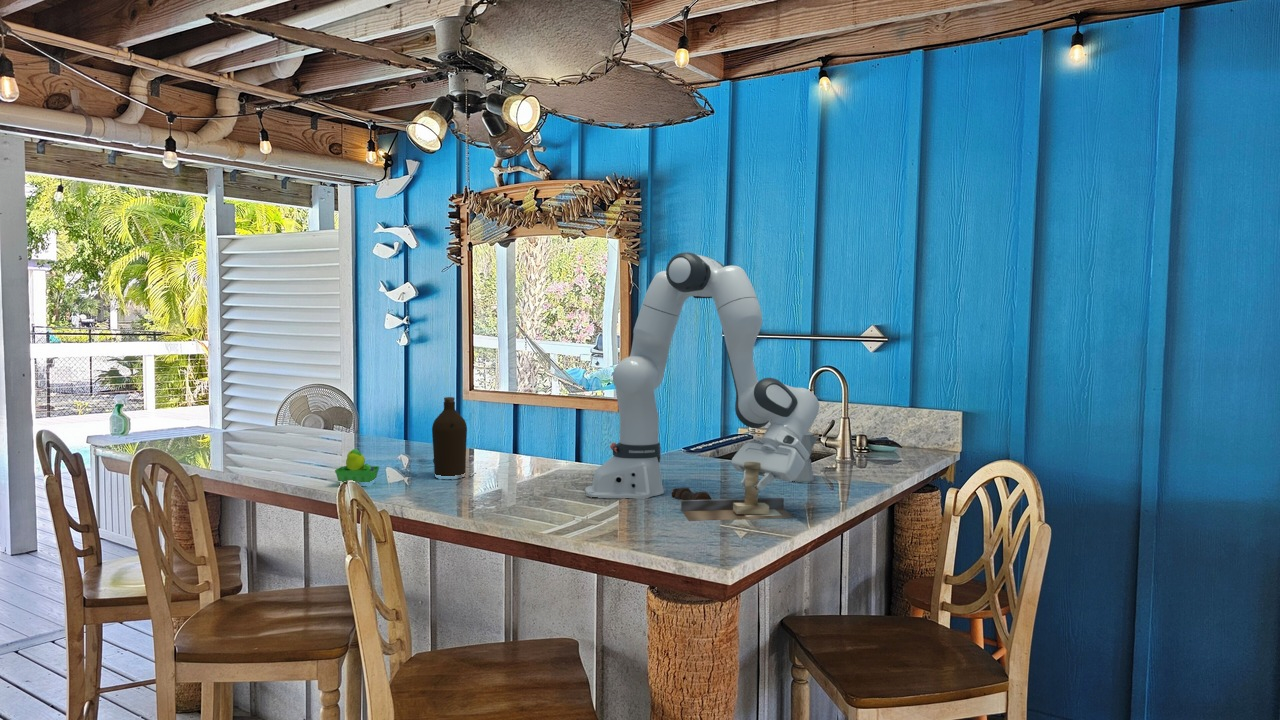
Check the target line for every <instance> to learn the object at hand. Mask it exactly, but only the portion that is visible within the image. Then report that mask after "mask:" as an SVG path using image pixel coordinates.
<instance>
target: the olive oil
mask: <svg viewBox="0 0 1280 720" xmlns="http://www.w3.org/2000/svg"><path fill="white" fill-rule="evenodd" d="M431 433H432V434H431V436H432V447H433V448H432V450H433V453H432V454H433V459H432V461H433V470H434V473H435V474H436V475H441V476H455V475H461V474H464V473H465V474H466V473H467V472H466V469H467V467H466V465H467V462H466V461H467V459H466V458H467V433H468V427H467V423H466V420H465V419H464V417H462V415H460V413H459V412H458V411H457V410H456V401H455V397H454V396H445V397H444V399H443V410H442V411H441V412H440V414H439V415H437V417H436V418H435V419H434V421H433V423H432V426H431ZM435 474H434V475H435Z"/></svg>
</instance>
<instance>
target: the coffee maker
mask: <svg viewBox="0 0 1280 720" xmlns="http://www.w3.org/2000/svg"><path fill="white" fill-rule="evenodd" d="M818 439H820V436H819V435H816V434H814V433H813V432H810V431H808V432H807V433H806V434H805V435H804V436H803V437H802V440H801V443H802V445H803V446H804V447H805V449H806V450H807V451H808V453H809V455H810V456H812V450H813V448H814V447H815V444H816V443H817V441H818ZM794 481H795V482H810V483H812V482H814V481H815V479H814V471H813V465H812V460H811V458H810V457H809V458H808V460H807V461H805V465H804V467H803V469H802V471H801V473H800V474H799V476H798V477H797V478H796V479H795V480H794ZM811 481H812V482H811Z"/></svg>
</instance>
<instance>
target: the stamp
mask: <svg viewBox="0 0 1280 720" xmlns="http://www.w3.org/2000/svg"><path fill="white" fill-rule="evenodd" d="M760 466H761V463H758V462H744V468H746V472H745V487H744V499H745V503H733V511H734V512H735V513H736V514H769V506H768V505H767V504H765V503H758V498H759V490H756V488H755V487H754V484H755V483H756V481H759V478H760V477H759V476H760V475H759V469H760Z"/></svg>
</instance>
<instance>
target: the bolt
mask: <svg viewBox="0 0 1280 720" xmlns="http://www.w3.org/2000/svg"><path fill="white" fill-rule="evenodd" d="M671 497H672V498H673V499H675V500H712V497H711V495H710V494H709V492H708V491H698V492H697V491H696V492H692V490H691V489H690V488H689V487H678V488H677V487H675V488H673V490H672V491H671Z"/></svg>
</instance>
